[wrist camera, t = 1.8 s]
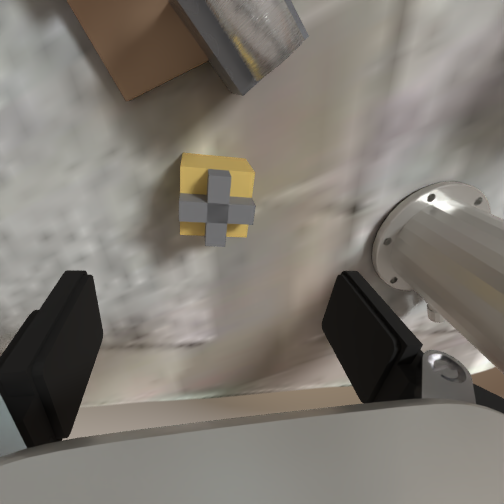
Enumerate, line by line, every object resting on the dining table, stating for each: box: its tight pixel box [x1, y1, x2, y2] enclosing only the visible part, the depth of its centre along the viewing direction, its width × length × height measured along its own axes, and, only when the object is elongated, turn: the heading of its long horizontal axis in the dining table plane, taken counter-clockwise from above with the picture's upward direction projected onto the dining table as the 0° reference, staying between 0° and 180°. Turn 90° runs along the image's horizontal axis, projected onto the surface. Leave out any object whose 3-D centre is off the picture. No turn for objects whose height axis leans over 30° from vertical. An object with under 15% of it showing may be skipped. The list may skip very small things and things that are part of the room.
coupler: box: [179, 153, 256, 247], centre depth 21 cm, size 5×5×6 cm
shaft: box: [168, 0, 308, 96], centre depth 15 cm, size 7×4×9 cm, turn 38°
